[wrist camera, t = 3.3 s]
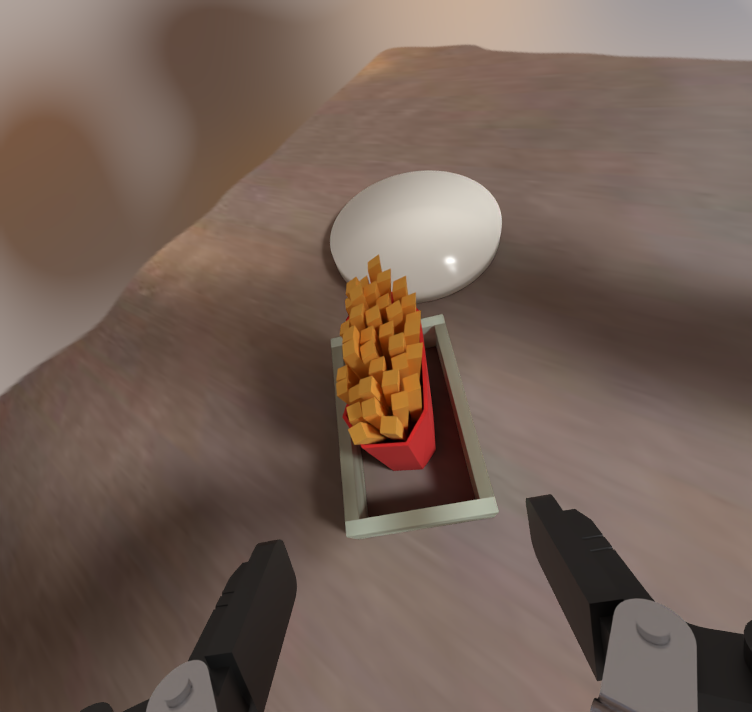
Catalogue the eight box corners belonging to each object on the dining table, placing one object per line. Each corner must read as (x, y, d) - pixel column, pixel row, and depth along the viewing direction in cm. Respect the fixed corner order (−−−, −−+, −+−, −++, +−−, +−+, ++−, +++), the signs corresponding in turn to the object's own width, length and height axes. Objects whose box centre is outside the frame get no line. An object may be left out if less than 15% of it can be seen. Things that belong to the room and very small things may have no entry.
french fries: (376, 371, 29) (326, 253, 18) (430, 366, 28) (414, 240, 17) (377, 494, 24) (311, 438, 13) (442, 491, 23) (430, 430, 12)
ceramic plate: (473, 168, 38) (474, 154, 37) (524, 279, 30) (527, 267, 29) (329, 205, 40) (325, 193, 39) (341, 321, 32) (336, 311, 30)
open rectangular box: (443, 335, 29) (442, 314, 26) (493, 517, 22) (498, 512, 20) (341, 357, 30) (330, 338, 27) (358, 539, 23) (346, 536, 20)
